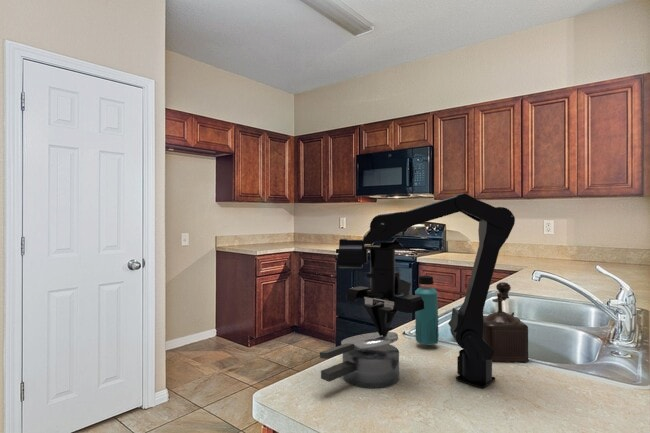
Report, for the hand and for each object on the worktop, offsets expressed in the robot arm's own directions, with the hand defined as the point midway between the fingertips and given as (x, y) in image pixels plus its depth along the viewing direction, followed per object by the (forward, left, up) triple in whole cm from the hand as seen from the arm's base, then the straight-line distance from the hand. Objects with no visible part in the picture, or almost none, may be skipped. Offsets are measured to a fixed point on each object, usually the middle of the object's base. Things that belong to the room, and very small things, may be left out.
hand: (383, 335), depth 90 cm
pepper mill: (-12, -35, -10) cm, 38 cm away
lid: (+2, +6, -2) cm, 7 cm away
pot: (+3, +6, -9) cm, 11 cm away
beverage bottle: (+4, -25, -10) cm, 27 cm away
